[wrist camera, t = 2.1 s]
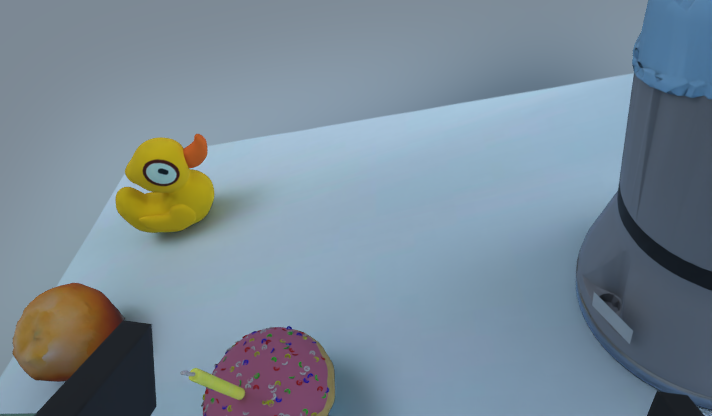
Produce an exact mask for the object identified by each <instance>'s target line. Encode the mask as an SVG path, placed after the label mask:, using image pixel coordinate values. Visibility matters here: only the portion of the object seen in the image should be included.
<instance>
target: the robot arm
mask: <svg viewBox="0 0 712 416" xmlns="http://www.w3.org/2000/svg"><path fill="white" fill-rule="evenodd" d="M632 64H633V69H634V78H633V85H632V92H631V99H630V107H629V114H628V121H627V128H626V136H625V143H624V150H623V157H622V165H621V172H620V182H619V188H618V191H617V193H616V194H615V195H614V197H613V198H612V199H611V201H610V202H609V203H608V205H607V206H606V207H605V209H604V210H603V211H602V213H601V214H600V215H599V217H598V218H597V219H596V221H595V222H594V223H593V225H592V226H591V228H590V229H589V231H588V233H587V235H586V236H585V239H584V241H583V243H582V246H581V249H580V251H579V255H578V259H577V269H576V292H577V298H578V302H579V306H580V309H581V311H582V314H583V316H584V319H585V320H586V322H587V324H588V326H589V328H590V329H591V331H592V332H593V334H594V336H595V337H596V338H597V340H598V341H599V342H600V343H601V345H602V346H603V347H604V348H605V349H606V350H607V351H608V352H609V353H610V355H611V356H612V357H613V358H615V359H616V360H617V361H618V362H619V363H620V364H621V365H622V366H624V367H625V368H626V369H627V370H629V371H630V372H631V373H633V374H634V375H635V376H637V377H638V378H640V379H642V380H643V381H645V382H646V383H648V384H649V385H651V386H653V387H655V388H657V389H659V390H660V391H662V392H659V391H657V393H656V395H655V398H654V400H653V402H652V405H651V407H650V410H649V412H648V415H647V416H704V415H703V414H702V412H701V411H700V410H699V409H698V407H697V406H700V407H704V408H707V409H711V410H712V0H648V4H647V9H646V13H645V18H644V23H643V27H642V31H641V33H640V35H639V37H638V39H637V41H636V43H635V45H634V49H633V62H632ZM696 405H697V406H696ZM155 408H156V392H155V375H154V358H153V342H152V325H151V324H146V323H138V322H131V321H122V322H121V323H120V324H119V325H118V326H117V327H116V329H115V330H114V331H113V332H112V333H111V334H110V335H109V336H108V337H107V338H106V339H105V340H104V341H103V342H102V344H101V345H100V346H99V347H98V348H97V349H96V350H95V351H94V352H93V353H92V354H91V355H90V356H89V357H88V359H87V360H86V361H85V362H84V363H83V364H82V365H81V366H80V367H79V368H78V369H77V370H76V371H75V372H74V373H73V375H72V376H71V377H70V378H69V379H68V380H67V381H66V382H65V383H64V384H63V385H62V386H61V387H60V388H59V390H58V391H57V392H56V393H55V394H54V395H53V396H52V397H51V398H50V399H49V400H48V401H47V402H46V403H45V405H44V406H43V407H42V408H41V409H40V410H39V411H38V412H37V413H36V414H35V415H34V416H151V414H152V412H153V411H154V409H155Z"/></svg>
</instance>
